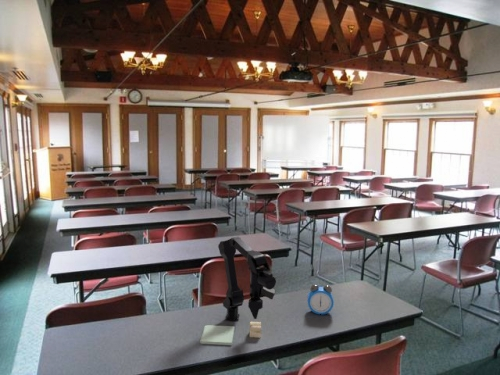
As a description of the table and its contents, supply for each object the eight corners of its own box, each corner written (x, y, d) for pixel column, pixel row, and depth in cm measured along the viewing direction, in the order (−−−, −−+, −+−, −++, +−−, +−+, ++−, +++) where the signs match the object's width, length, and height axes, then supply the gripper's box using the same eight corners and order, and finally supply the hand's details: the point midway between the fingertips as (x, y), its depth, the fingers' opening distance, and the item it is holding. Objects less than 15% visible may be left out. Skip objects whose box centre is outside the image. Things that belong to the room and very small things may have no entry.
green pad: (205, 327, 182) (205, 325, 182) (234, 328, 182) (234, 326, 181) (200, 343, 168) (200, 341, 168) (231, 345, 168) (231, 342, 168)
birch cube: (250, 331, 180) (250, 321, 179) (260, 332, 180) (261, 322, 179) (249, 337, 175) (249, 327, 174) (260, 337, 175) (260, 327, 174)
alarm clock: (307, 314, 198) (308, 286, 196) (307, 308, 204) (308, 282, 202) (332, 316, 197) (334, 288, 194) (331, 310, 203) (333, 283, 200)
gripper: (274, 290, 164) (273, 325, 166) (274, 274, 182) (273, 305, 185) (248, 289, 164) (247, 323, 167) (250, 273, 183) (249, 304, 185)
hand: (255, 313), depth 176 cm, fingers open, 9 cm apart
